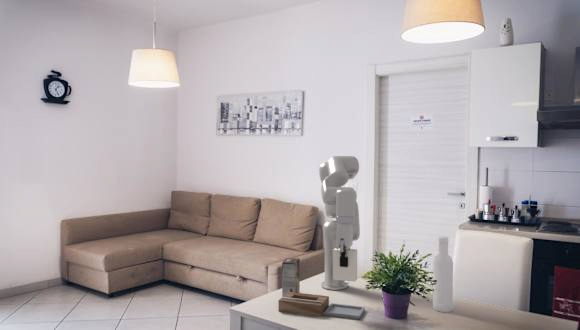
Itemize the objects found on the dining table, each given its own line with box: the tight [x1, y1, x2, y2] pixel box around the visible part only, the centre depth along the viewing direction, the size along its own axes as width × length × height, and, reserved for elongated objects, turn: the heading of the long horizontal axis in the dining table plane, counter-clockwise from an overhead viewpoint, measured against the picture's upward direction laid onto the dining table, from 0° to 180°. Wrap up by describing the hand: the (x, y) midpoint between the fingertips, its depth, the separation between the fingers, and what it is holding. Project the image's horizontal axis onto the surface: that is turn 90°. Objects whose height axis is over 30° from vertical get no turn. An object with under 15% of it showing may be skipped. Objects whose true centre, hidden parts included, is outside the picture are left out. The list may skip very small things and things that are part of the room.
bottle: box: [432, 235, 454, 313], centre depth 197 cm, size 8×8×30 cm
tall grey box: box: [281, 257, 301, 298], centre depth 215 cm, size 9×6×16 cm
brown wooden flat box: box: [278, 292, 330, 317], centre depth 198 cm, size 12×18×5 cm, turn 70°
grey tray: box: [323, 302, 366, 321], centre depth 193 cm, size 11×14×2 cm
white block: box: [333, 248, 358, 283], centre depth 192 cm, size 4×9×12 cm, turn 70°
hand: (345, 264), depth 192 cm, fingers closed on white block, 4 cm apart
